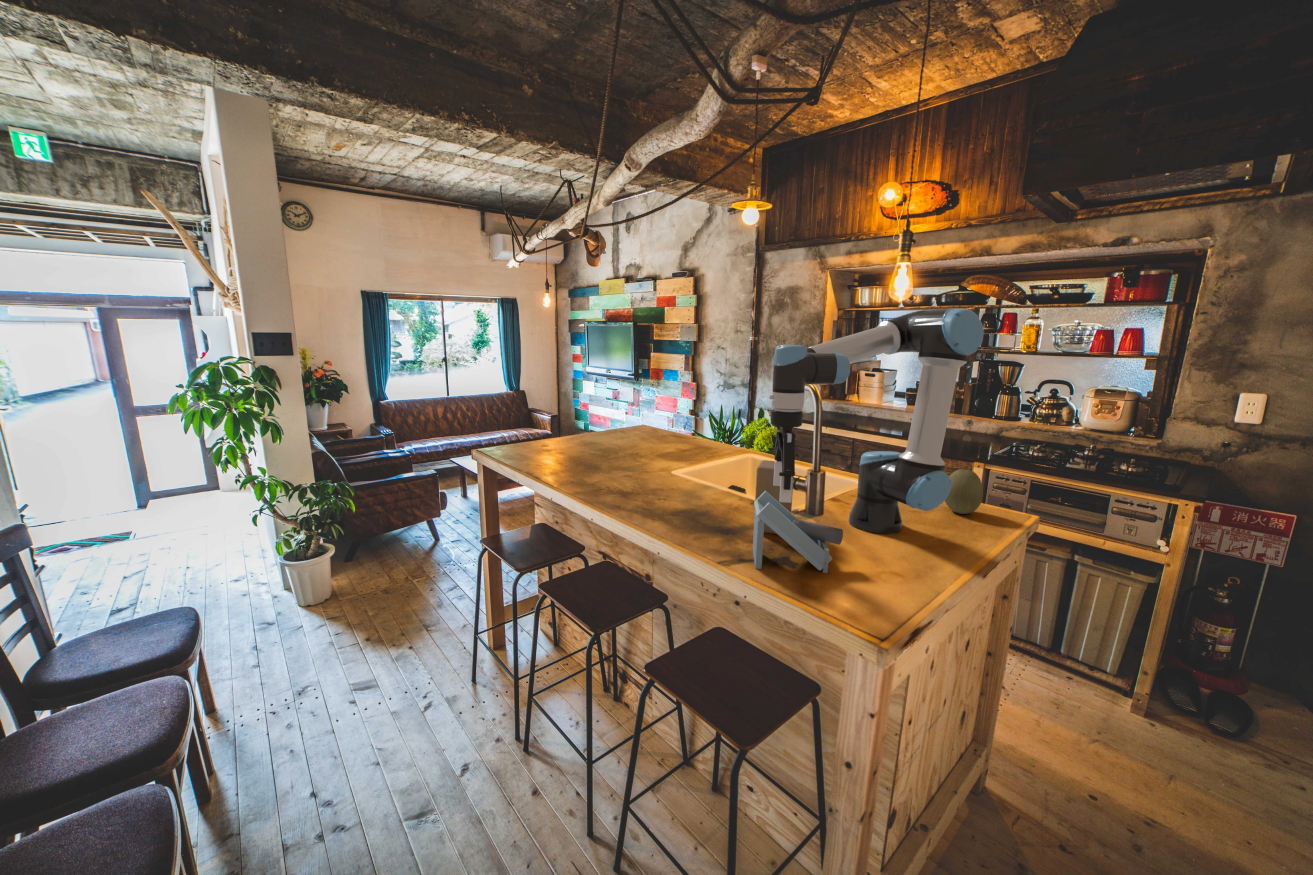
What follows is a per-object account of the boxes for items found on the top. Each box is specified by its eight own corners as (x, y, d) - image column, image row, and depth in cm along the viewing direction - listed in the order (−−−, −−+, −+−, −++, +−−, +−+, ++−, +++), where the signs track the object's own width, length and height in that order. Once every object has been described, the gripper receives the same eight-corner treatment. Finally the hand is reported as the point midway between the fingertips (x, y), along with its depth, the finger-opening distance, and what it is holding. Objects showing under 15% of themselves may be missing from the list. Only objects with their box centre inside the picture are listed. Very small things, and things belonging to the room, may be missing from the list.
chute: (822, 555, 136) (828, 493, 132) (831, 573, 125) (837, 506, 122) (751, 551, 138) (754, 490, 134) (754, 568, 127) (757, 502, 124)
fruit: (935, 511, 171) (940, 468, 168) (947, 504, 178) (952, 463, 175) (973, 521, 163) (980, 475, 160) (984, 513, 170) (991, 469, 167)
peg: (789, 532, 132) (836, 542, 132) (792, 536, 128) (840, 546, 128) (793, 517, 132) (839, 527, 131) (796, 520, 128) (844, 530, 127)
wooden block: (790, 525, 157) (794, 462, 153) (787, 536, 148) (792, 470, 144) (757, 521, 160) (761, 459, 156) (753, 532, 151) (756, 466, 147)
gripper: (766, 402, 137) (762, 479, 141) (777, 416, 112) (771, 508, 117) (795, 403, 136) (790, 480, 140) (812, 417, 112) (805, 510, 116)
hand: (781, 493), depth 128 cm, fingers open, 13 cm apart
